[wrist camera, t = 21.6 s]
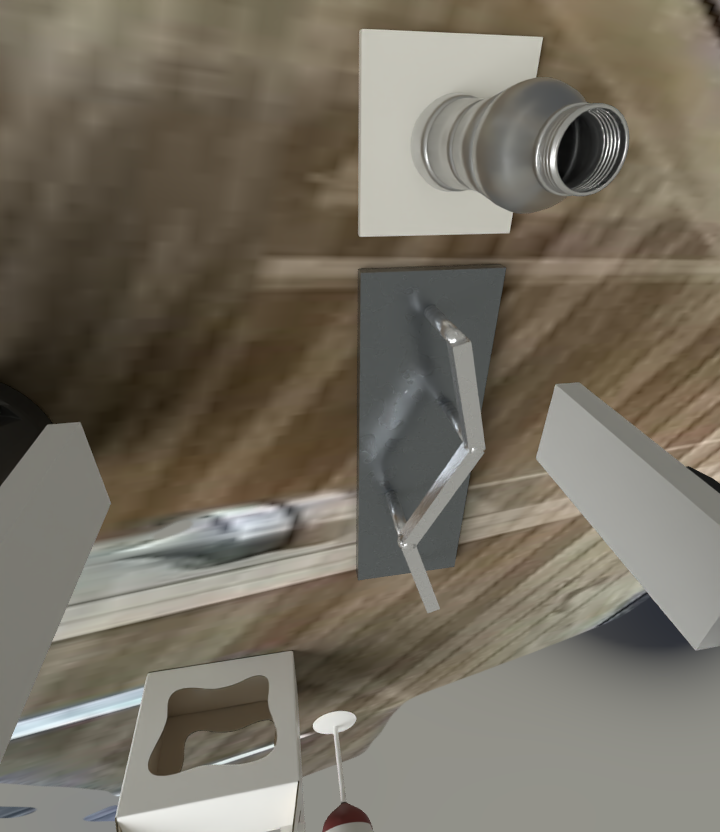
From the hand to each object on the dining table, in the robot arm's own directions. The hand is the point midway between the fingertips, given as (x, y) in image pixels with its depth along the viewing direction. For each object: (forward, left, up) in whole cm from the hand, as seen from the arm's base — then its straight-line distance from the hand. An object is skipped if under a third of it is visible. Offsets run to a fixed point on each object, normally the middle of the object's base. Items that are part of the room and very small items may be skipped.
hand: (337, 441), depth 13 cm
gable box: (-15, -68, -32) cm, 77 cm away
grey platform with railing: (+13, -24, -32) cm, 42 cm away
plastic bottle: (+13, +7, -31) cm, 34 cm away
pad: (+13, +7, -32) cm, 35 cm away
